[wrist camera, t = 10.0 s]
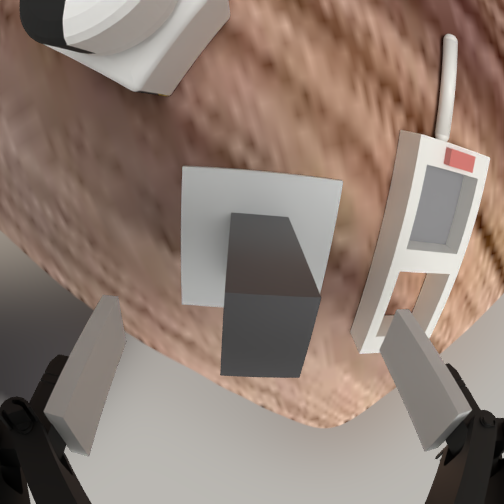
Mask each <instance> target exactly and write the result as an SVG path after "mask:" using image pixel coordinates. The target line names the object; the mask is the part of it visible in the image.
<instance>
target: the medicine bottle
mask: <svg viewBox="0 0 504 504" xmlns="http://www.w3.org/2000/svg"><path fill="white" fill-rule="evenodd" d="M229 18H230V8H229V0H20V19H21V22H22V25H23V27H24V29H25V31H26V32H27V34H28V35H29V36H30V37H31V38H32V39H34V40H35V41H37V42H39V43H41V44H44V45H46V46H48V47H50V48H52V49H54V50H56V51H58V52H60V53H62V54H64V55H66V56H68V57H70V58H72V59H74V60H76V61H78V62H80V63H82V64H84V65H86V66H88V67H90V68H91V69H93V70H95V71H97V72H99V73H101V74H103V75H104V76H106V77H108V78H110V79H112V80H113V81H115V82H117V83H119V84H121V85H122V86H124V87H126V88H128V89H129V90H131V91H134V92H141V93H148V94H155V95H161V96H170V95H171V94H172V93H173V91H174V90H175V88H176V87H177V85H178V84H179V82H180V81H181V80H182V78H183V77H184V75H185V74H186V73H187V71H188V70H189V68H190V67H191V66H192V64H193V63H194V62H195V60H196V59H197V58H198V56H199V55H200V54H201V52H202V51H203V50H204V49H205V47H206V46H207V45H208V44H209V42H210V41H211V40H212V38H213V37H214V36H215V35H216V34H217V32H218V31H219V30H220V29H221V28H222V26H223V25H224V24H225V23H226V22H227V20H228V19H229Z"/></svg>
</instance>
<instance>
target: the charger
mask: <svg viewBox="0 0 504 504" xmlns="http://www.w3.org/2000/svg"><path fill="white" fill-rule="evenodd" d="M320 301H321V296H320V293H319V291H318V288H317V286H316V283H315V280H314V278H313V275H312V273H311V270H310V268H309V266H308V263H307V261H306V258H305V256H304V253H303V251H302V248H301V246H300V244H299V241H298V239H297V236H296V234H295V231H294V229H293V227H292V224H291V222H290V220H289V217H282V216H270V215H258V214H245V213H232V212H231V219H230V231H229V243H228V256H227V269H226V282H225V296H224V313H223V332H222V352H221V373H220V375H224V376H243V377H280V378H299V377H300V374H301V370H302V367H303V364H304V360H305V357H306V353H307V350H308V346H309V342H310V339H311V335H312V332H313V328H314V324H315V320H316V316H317V313H318V309H319V305H320Z"/></svg>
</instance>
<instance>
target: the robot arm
mask: <svg viewBox="0 0 504 504" xmlns="http://www.w3.org/2000/svg"><path fill="white" fill-rule="evenodd" d="M125 344H126V337H125V332H124V327H123V321H122V316H121V310H120V304H119V298H118V296H109V295H103V296H102V297H101V299H100V301H99V303H98V304H97V306H96V308H95V310H94V311H93V313H92V315H91V317H90V319H89V320H88V322H87V324H86V326H85V328H84V330H83V332H82V333H81V335H80V337H79V339H78V341H77V343H76V345H75V347H74V348H73V350H72V352H71V354H70V356H69V357H68V356H64V355H57V356H56V357H55V358H54V359H53V360H52V361H51V362H50V363H49V365H48V367H47V369H46V371H45V374H44V375H43V376H42V378H41V382H39V384H38V386H37V388H36V390H35V392H34V394H33V397H32V398H31V400H30V403H28V401H26V400H25V399H24V398H21V397H11V398H9V399H7V400H6V401H4V403H3V404H2V405H1V407H0V504H30V498H29V492H28V487H27V483H28V486H29V488H30V491H31V493H32V495H33V498H34V500H35V502H36V504H91V502H90V501H89V498H88V497H87V495H86V493H85V492H84V490H83V488H82V486H81V485H80V482H79V481H78V479H77V477H76V475H75V473H74V471H73V469H72V467H71V465H70V463H69V461H68V459H67V457H66V455H65V453H64V450H65V447H66V445H67V447H68V448H69V449H70V450H71V452H75V453H78V454H82V455H86V456H89V455H90V451H91V448H92V444H93V441H94V437H95V434H96V430H97V427H98V424H99V420H100V417H101V414H102V411H103V408H104V405H105V401H106V398H107V395H108V392H109V389H110V386H111V383H112V380H113V378H114V375H115V372H116V369H117V366H118V363H119V361H120V358H121V355H122V352H123V350H124V347H125ZM379 351H380V353H381V355H382V357H383V359H384V361H385V363H386V365H387V367H388V369H389V372H390V374H391V376H392V378H393V380H394V382H395V384H396V387H397V389H398V391H399V393H400V395H401V397H402V400H403V402H404V404H405V406H406V409H407V411H408V413H409V415H410V418H411V420H412V422H413V425H414V427H415V429H416V432H417V434H418V436H419V439H420V441H421V444H422V446H423V449H424V451H428V450H432V449H435V448H438V447H439V446H440V445H441V444H442V443H443V442H444V441H445V440H446V442H447V446H446V447H445V448H444V449H443V450H442V451H441V452H440V453H439V454H438V455H437V456H436V458H435V459H438V458H439V457H440V456H441V455H442V458H441V459H440V464H439V467H438V470H437V473H436V476H435V479H434V481H433V484H432V487H431V489H430V492H429V495H428V497H427V500H426V502H425V504H504V458H502V453H503V452H504V418H495V416H494V415H493V414H492V413H491V412H489V411H486V410H480V408H479V407H478V405H477V403H476V402H475V400H474V398H473V397H472V395H471V393H470V391H469V390H468V388H467V387H466V386H465V383H464V382H463V380H461V379H462V378H461V377H460V375H459V373H458V372H457V370H456V369H454V368H453V367H452V366H451V365H450V364H445V363H444V361H443V360H442V358H441V357H440V355H439V354H438V352H437V350H436V349H435V347H434V346H433V344H432V343H431V341H430V340H429V338H428V337H427V335H426V334H425V332H424V331H423V329H422V328H421V326H420V325H419V323H418V322H417V320H416V319H415V317H414V316H413V315H412V313H411V312H410V310H409V309H397V310H396V312H395V315H394V317H393V320H392V322H391V325H390V327H389V329H388V332H387V334H386V336H385V338H384V341H383V343H382V345H381V347H380V350H379Z"/></svg>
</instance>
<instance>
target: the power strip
mask: <svg viewBox="0 0 504 504" xmlns="http://www.w3.org/2000/svg"><path fill="white" fill-rule="evenodd" d="M457 49H458V42H457V39H456V37H455V36H453V35H451V34H446V35H445V36H444V38H443V60H442V75H441V87H440V97H439V106H438V114H437V122H436V129H435V138H432V137H429V136H426V135H422V134H418V133H414V132H409V131H404V130H400V135H399V142H398V148H397V154H396V159H395V165H394V170H393V176H392V181H391V186H390V190H389V195H388V200H387V204H386V209H385V213H384V217H383V222H382V226H381V230H380V234H379V238H378V242H377V246H376V249H375V253H374V257H373V260H372V264H371V267H370V271H369V274H368V278H367V281H366V285H365V288H364V291H363V294H362V298H361V301H360V304H359V307H358V310H357V313H356V316H355V319H354V322H353V325H352V328H351V331H350V332H351V335H352V337H353V339H354V342H355V344H356V346H357V349H358V351H359V354H364V353H380V351H379V350H380V347H381V345H382V343H383V341H384V338H385V336H386V334H387V332H388V329H389V327H390V325H391V322H392V320H393V317H394V315H384V314H385V312H386V309H387V306H388V303H389V301H390V298H391V295H392V292H393V289H394V286H395V283H396V281H397V278H398V274H399V271H401V272H419V273H427V275H426V278H425V281H424V283H423V286H422V289H421V291H420V294H419V297H418V299H417V302H416V304H415V307H414V309H413V312H412V315H413V316H414V317H415V319H416V320H417V322H418V323H419V325H420V326H421V328H422V329H423V331H424V332H425V334H426V335H427V337H428V338H430V336H431V334H432V332H433V330H434V328H435V326H436V324H437V321H438V319H439V317H440V315H441V313H442V310H443V308H444V306H445V304H446V301H447V299H448V296H449V294H450V292H451V289H452V287H453V284H454V282H455V279H456V276H457V274H458V271H459V269H460V266H461V263H462V260H463V257H464V255H465V252H466V249H467V246H468V243H469V239H470V236H471V233H472V230H473V227H474V223H475V220H476V216H477V213H478V209H479V205H480V201H481V197H482V193H483V189H484V185H485V180H486V176H487V171H488V166H489V161H490V157H487V156H484V155H482V154H479V153H477V152H474V151H471V150H468V149H466V148H463V147H460V146H457V145H454V144H451V143H448V142H447V141H448V139H449V136H450V129H451V122H452V114H453V106H454V96H455V85H456V72H457Z"/></svg>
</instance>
